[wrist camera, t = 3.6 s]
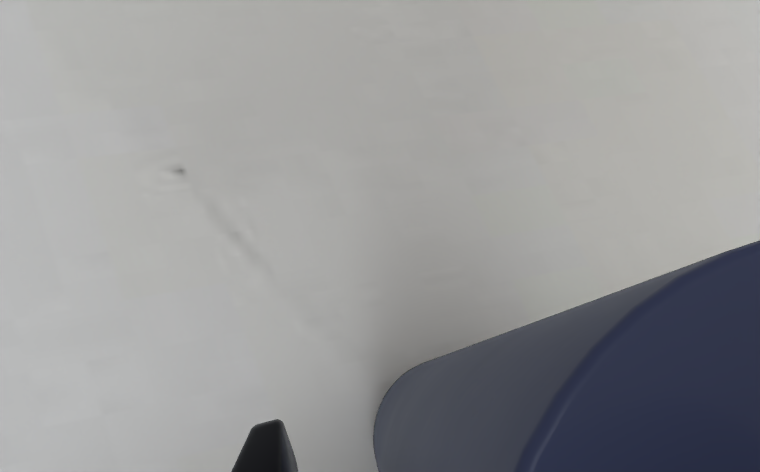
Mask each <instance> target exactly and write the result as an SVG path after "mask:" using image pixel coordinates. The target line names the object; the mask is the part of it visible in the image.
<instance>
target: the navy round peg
mask: <svg viewBox="0 0 760 472" xmlns="http://www.w3.org/2000/svg"><path fill="white" fill-rule="evenodd" d="M373 441H374V452H375V458H376V462H377V467H378V471H379V472H760V241H757V242H754V243H751V244H748V245H745V246H742V247H739V248H736V249H733V250H730V251H726V252H724V253H721V254H718V255H716V256H713V257H710V258H707V259H705V260H702V261H699V262H697V263H694V264H691V265H688V266H686V267H683V268H680V269H678V270H675V271H672V272H669V273H667V274H664V275H661V276H659V277H656V278H653V279H650V280H648V281H645V282H642V283H640V284H637V285H634V286H631V287H629V288H626V289H623V290H621V291H618V292H615V293H612V294H610V295H607V296H604V297H602V298H599V299H596V300H593V301H591V302H588V303H585V304H583V305H580V306H577V307H574V308H572V309H569V310H566V311H564V312H561V313H558V314H555V315H553V316H550V317H547V318H545V319H542V320H539V321H536V322H534V323H531V324H528V325H526V326H523V327H520V328H517V329H515V330H512V331H509V332H507V333H504V334H501V335H498V336H496V337H493V338H490V339H488V340H485V341H482V342H479V343H477V344H474V345H471V346H469V347H466V348H463V349H460V350H458V351H455V352H452V353H450V354H447V355H444V356H441V357H439V358H436V359H433V360H431V361H428V362H425V363H422V364H420V365H418V366H416V367H414V368H412V369H410V370H409V371H408V372H406V373H405V374H403V375H402V376H401V377H400V378H399V379H398V380H397V381H396V382H395V383H394V384H393V385H392V386H391V387H390V389H389V390H388V392H387V393H386V395H385V396H384V398H383V400H382V402H381V404H380V407H379V410H378V412H377V415H376V420H375V425H374V435H373Z"/></svg>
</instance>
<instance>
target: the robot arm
mask: <svg viewBox="0 0 760 472" xmlns="http://www.w3.org/2000/svg"><path fill="white" fill-rule="evenodd" d="M232 472H298V468H297V463H296V459H295V455H294V452H293V449H292V446H291V444H290V441H289V438H288V435H287V432H286V429H285V426H284V424H283V422H282V421H281V420H278V419H276V420H272V421H268V422H265V423H261V424H257V425H255V426H254V427H253V428H252V429H251V431H250V433H249V435H248V437H247V440H246V442H245V444H244V446H243V448H242V450H241V452H240V455H239V457H238V459H237V461H236V463H235V465H234V467H233V470H232Z"/></svg>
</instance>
